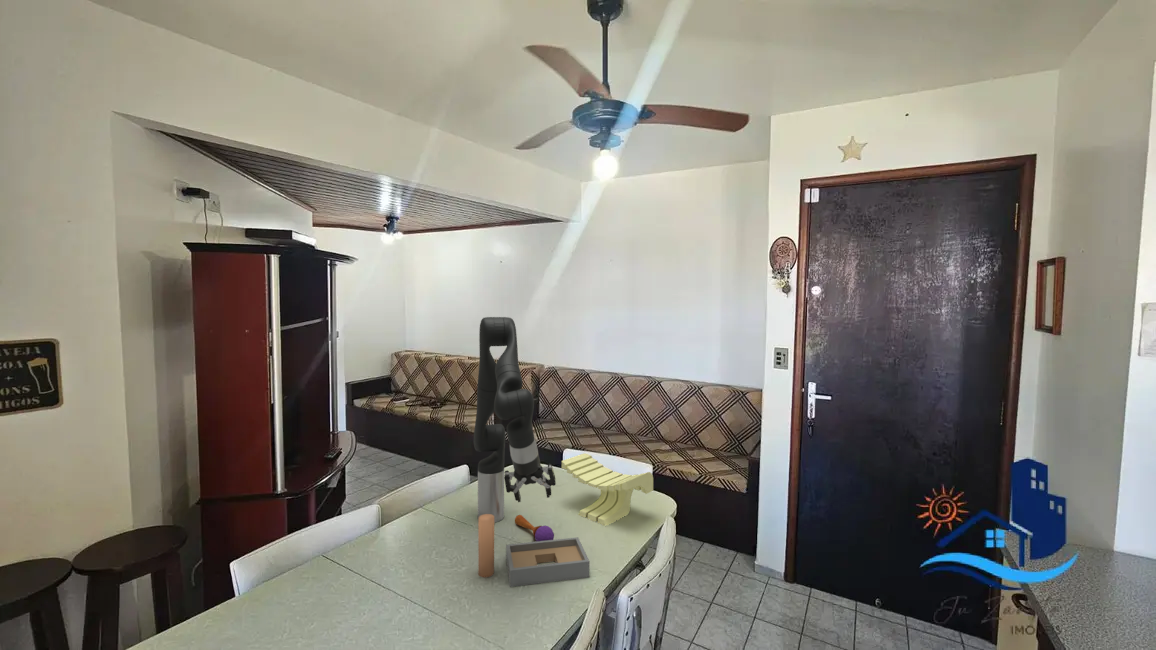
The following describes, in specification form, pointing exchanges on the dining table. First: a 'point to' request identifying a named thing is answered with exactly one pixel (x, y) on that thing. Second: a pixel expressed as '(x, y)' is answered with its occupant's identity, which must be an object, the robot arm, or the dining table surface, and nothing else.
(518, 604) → the dining table surface
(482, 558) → the peg
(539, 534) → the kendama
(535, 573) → the peg box
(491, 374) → the robot arm
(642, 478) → the slatted curved stool
